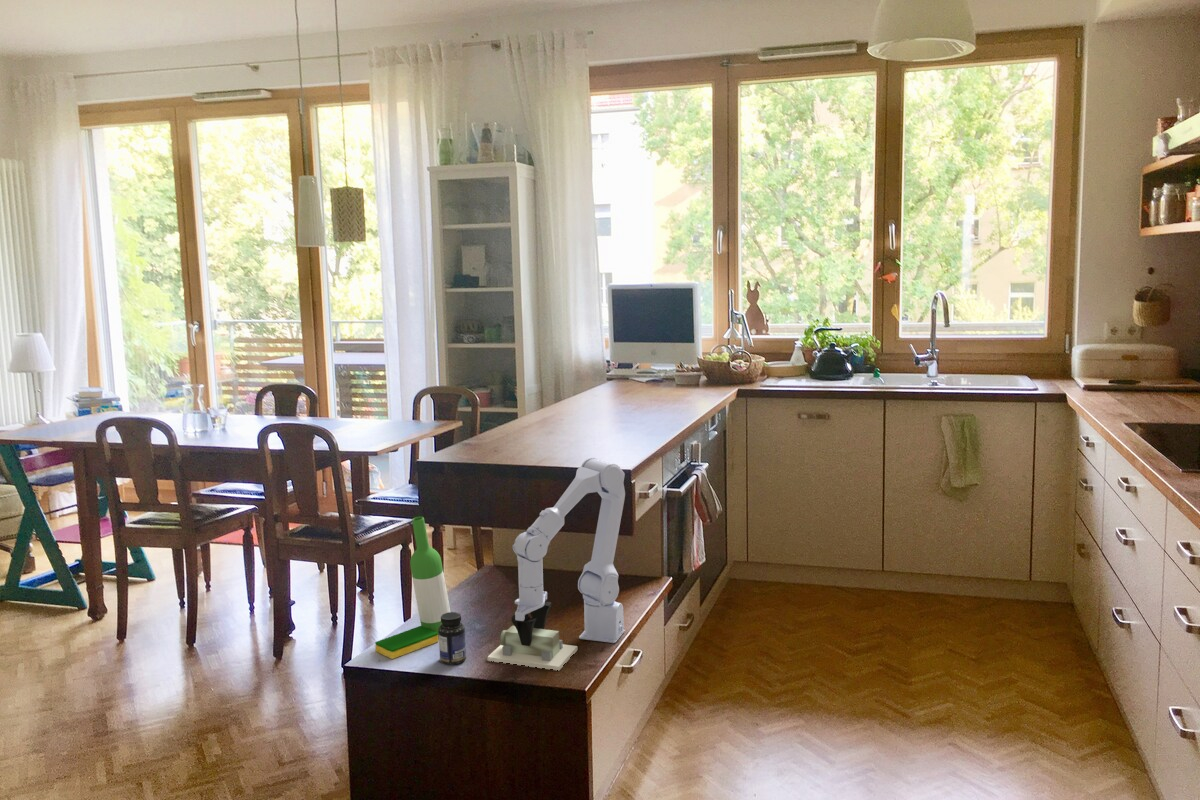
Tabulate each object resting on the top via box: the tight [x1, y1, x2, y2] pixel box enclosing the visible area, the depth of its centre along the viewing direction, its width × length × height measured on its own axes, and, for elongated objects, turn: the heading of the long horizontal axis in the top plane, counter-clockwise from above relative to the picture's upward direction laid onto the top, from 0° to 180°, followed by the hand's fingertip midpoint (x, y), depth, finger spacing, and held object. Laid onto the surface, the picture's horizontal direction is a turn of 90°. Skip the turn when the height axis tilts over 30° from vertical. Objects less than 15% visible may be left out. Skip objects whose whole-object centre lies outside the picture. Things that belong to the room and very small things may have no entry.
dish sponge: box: [374, 625, 439, 660], centre depth 238 cm, size 7×14×2 cm, turn 137°
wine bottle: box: [409, 516, 451, 635], centre depth 243 cm, size 8×8×30 cm
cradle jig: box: [486, 639, 578, 672], centre depth 231 cm, size 18×12×3 cm, turn 71°
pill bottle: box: [438, 611, 467, 666], centre depth 229 cm, size 6×6×11 cm
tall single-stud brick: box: [499, 624, 560, 658], centre depth 231 cm, size 14×4×5 cm, turn 71°
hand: (532, 638), depth 231 cm, fingers open, 7 cm apart
